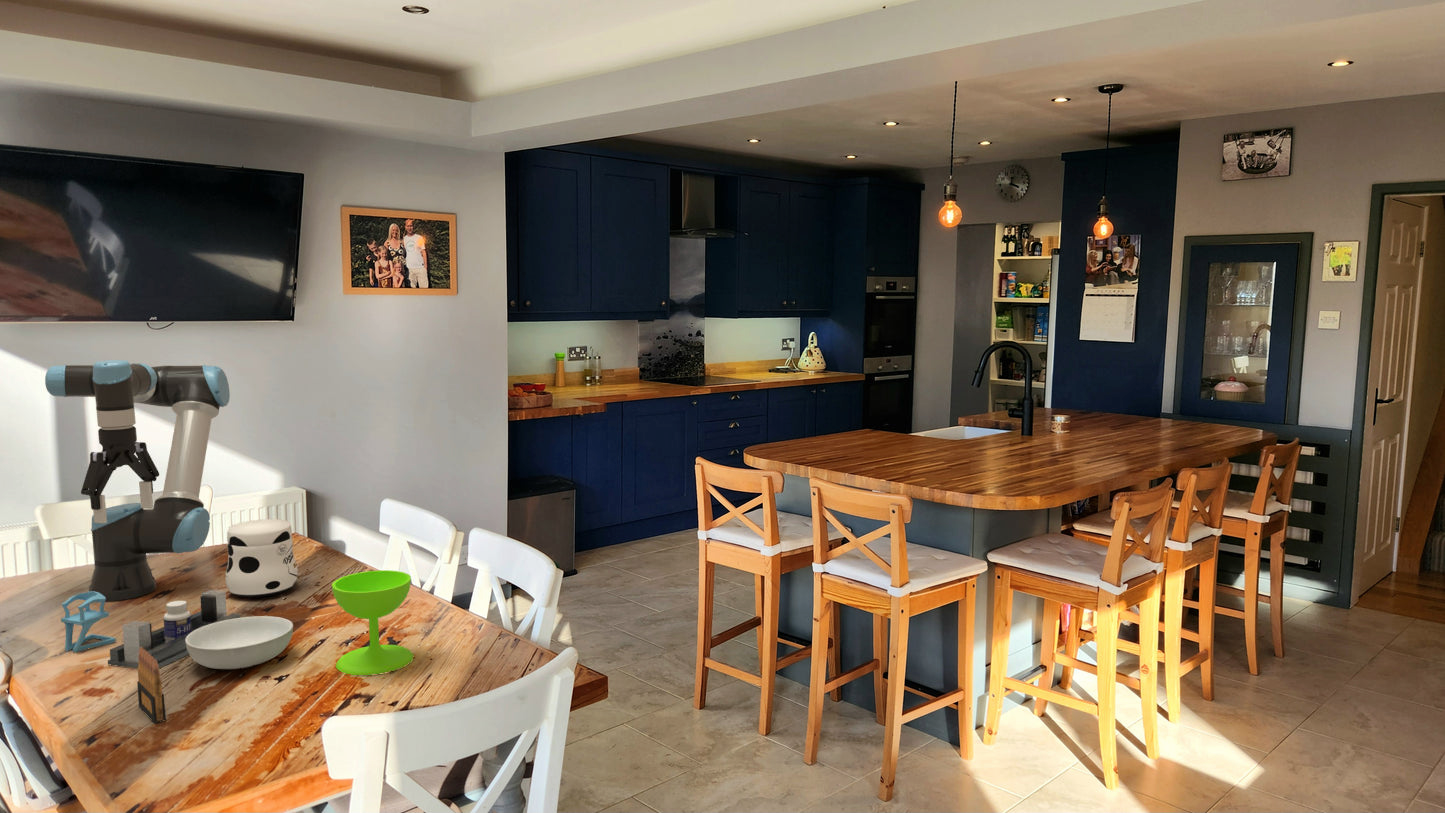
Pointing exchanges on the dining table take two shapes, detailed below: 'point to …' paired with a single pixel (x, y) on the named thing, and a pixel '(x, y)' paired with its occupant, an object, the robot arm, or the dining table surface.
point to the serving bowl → (239, 641)
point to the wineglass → (372, 618)
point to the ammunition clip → (150, 687)
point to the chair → (85, 621)
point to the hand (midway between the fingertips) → (124, 515)
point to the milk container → (260, 558)
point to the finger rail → (155, 641)
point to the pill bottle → (176, 620)
